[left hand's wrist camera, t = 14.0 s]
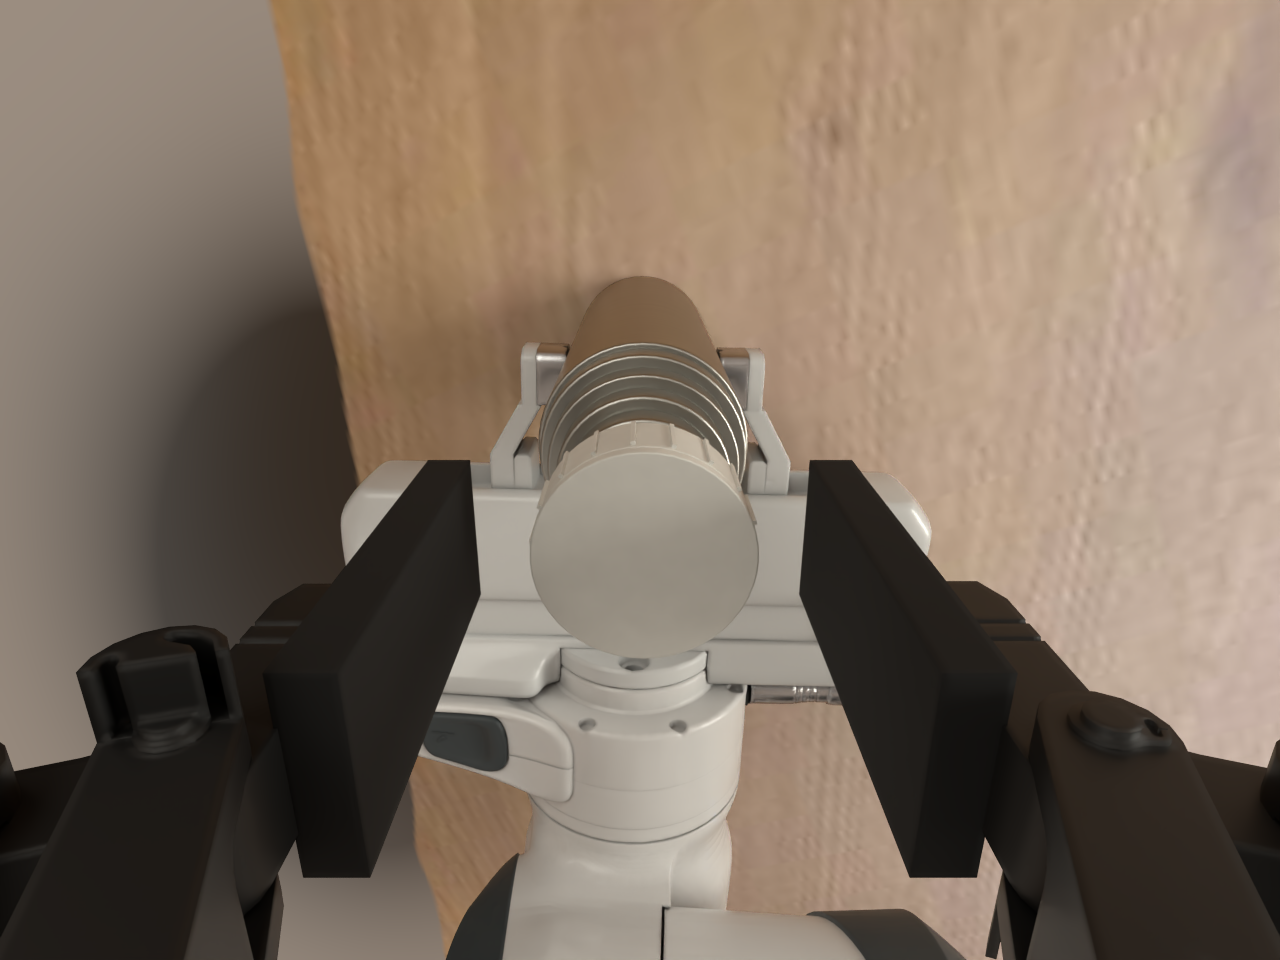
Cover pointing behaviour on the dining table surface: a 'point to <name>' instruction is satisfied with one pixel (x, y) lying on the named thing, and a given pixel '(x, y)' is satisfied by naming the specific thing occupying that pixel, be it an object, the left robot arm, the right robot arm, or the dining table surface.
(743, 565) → the cap
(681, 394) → the bottle
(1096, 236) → the dining table surface
